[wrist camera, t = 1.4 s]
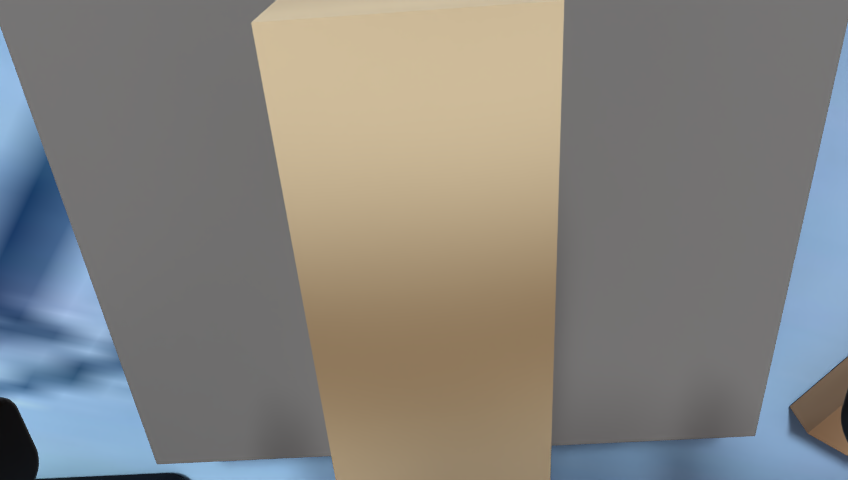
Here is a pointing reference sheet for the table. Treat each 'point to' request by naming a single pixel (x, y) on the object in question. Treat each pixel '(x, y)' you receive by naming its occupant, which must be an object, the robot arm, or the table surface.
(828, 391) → the walnut pad
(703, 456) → the table surface
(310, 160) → the t key
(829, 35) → the keyhole plate
